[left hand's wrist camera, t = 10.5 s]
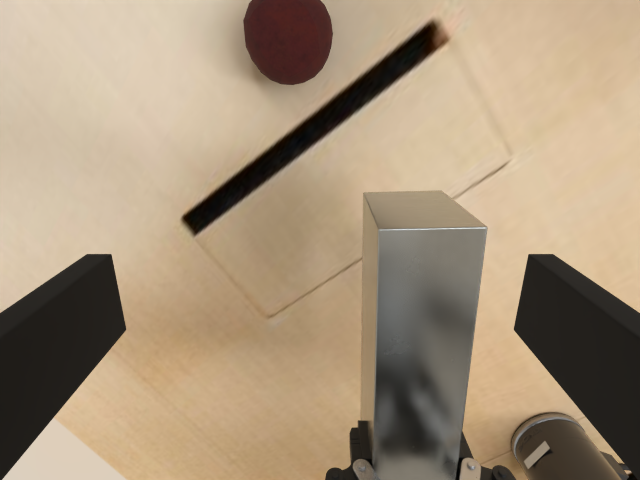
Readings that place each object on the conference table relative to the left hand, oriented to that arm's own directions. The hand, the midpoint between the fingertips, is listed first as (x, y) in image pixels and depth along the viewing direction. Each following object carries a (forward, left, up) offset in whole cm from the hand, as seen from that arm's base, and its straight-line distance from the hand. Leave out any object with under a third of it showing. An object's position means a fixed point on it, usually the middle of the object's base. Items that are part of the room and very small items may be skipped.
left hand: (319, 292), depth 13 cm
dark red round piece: (-11, -3, -29) cm, 31 cm away
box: (+11, +6, -17) cm, 21 cm away
